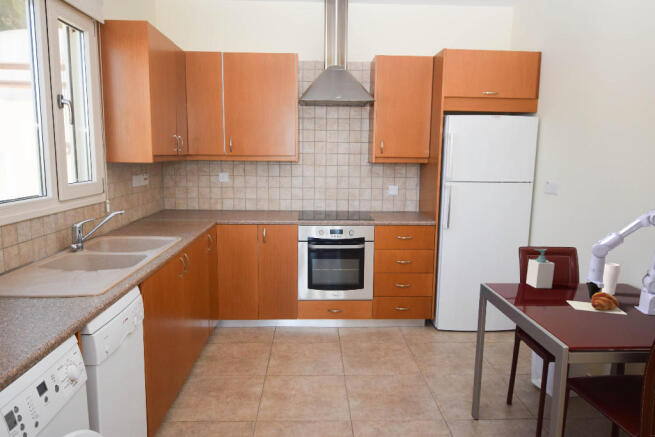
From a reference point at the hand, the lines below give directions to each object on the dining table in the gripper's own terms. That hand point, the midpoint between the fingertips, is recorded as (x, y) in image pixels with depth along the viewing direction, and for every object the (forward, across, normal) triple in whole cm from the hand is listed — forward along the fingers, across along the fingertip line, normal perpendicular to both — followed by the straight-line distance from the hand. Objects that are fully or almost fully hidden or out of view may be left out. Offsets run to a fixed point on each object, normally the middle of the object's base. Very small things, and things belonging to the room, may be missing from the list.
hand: (592, 298), depth 198 cm
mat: (+2, +8, -2) cm, 8 cm away
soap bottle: (+2, -21, -18) cm, 27 cm away
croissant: (+2, +6, +3) cm, 7 cm away
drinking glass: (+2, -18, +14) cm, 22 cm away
